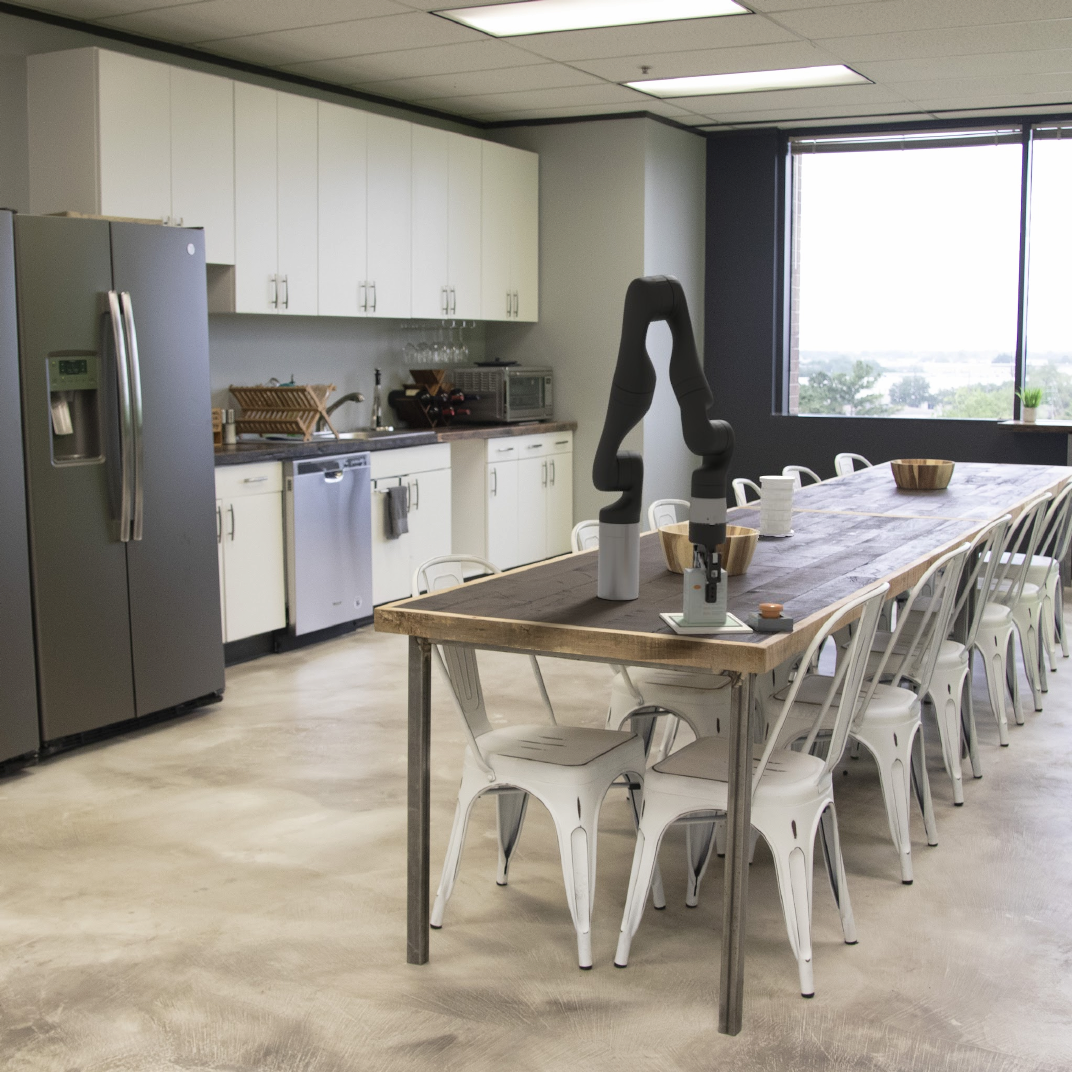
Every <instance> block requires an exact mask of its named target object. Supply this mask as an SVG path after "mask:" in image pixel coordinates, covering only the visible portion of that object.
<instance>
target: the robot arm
mask: <svg viewBox="0 0 1072 1072" xmlns="http://www.w3.org/2000/svg"><path fill="white" fill-rule="evenodd" d="M625 293H626V294H625V298H624V304H623V305H624V306H623V314H622V323H621V335H620V342H619V348H618V354H617V359H616V364H615V365H616V366H615V369H614V373H613V376H612V377H613V378H612V383H611V386H610V393H609V397H608V405H607V409H606V415H605V421H604V425H603V428H602V431H601V435H600V438H599V441H598V445H597V448H596V452H595V455H594V459H593V464H592V471H591V472H592V473H591V474H592V475H591V477H592V485H593V486H594V488H595V489H596V490H597V491H599V492H605V493H607V492H608V493H609V492H611V493H613V492H615V493H616V492H618V493H619V492H622V495H621V496H620V498H618V500H616V501H614V502H613V503H610V504H608V505H606V506H603V507H602V508H600V509H599V512H598V554H597V555H598V556H597V557H598V559H597V560H598V561H597V562H598V563H597V564H598V566H597V597H598V598H599V599H603V600H611V601H630V600H636V599H637V598H639V589H640V587H639V584H640V583H639V582H640V546H641V545H640V544H641V543H640V541H641V540H640V538H641V536H640V535H641V512H642V506H643V505H642V504H643V503H642V502H643V490H644V489H643V488H644V487H643V486H644V478H645V477H644V475H645V472H644V471H645V468H644V466H645V465H644V460H643V456H642V455H641V453H640V452H639V451H637V450H632V449H628V450H627V449H626V450H625V449H624V450H623V449H622V450H619V448H620V446H621V444H622V443H623V441H624V439H625V437H627V435H628V434H629V433H630V432H631V431H632V430H633V428H635V427H636V426H637V424H638V423H640V421H642V420H643V418H644V417H645V416H646V415H647V413H648V412H649V410H650V408H651V406H652V403H653V399H654V395H655V391H656V385H657V378H658V377H657V373H656V369H655V366H654V364H653V361H652V359H651V357H650V354H649V353H648V350H647V345H646V344H647V342H646V341H647V335H648V331H649V328H650V327H649V326H650V325H651V323H653V322H662V321H665V322H666V324H667V326H668V328H669V330H670V333H671V334H670V335H671V336H672V337H671V339H672V347H671V354H670V360H669V367H668V368H669V369H668V376H669V381H670V385H671V387H672V391H673V394H674V395H675V398H676V401H677V404H678V407H679V410H680V421H681V431H682V438H683V442H684V443H685V445H686V447H687V449H688V450H689V451H690V452H691V453H692V454H693V455H695V456H699V457H703V461H702V464H701V465H700V466H699V467H697V468H695V469H694V470H693V471H692V473H691V481H690V482H691V484H690V503H689V508H688V509H689V510H688V512H689V514H688V542H689V543H691V544H693V545H692V548H693V549H692V567H691V568H701V572H702V574H703V575H704V576H705V583H706V584H705V602H707V603H715V602H716V601H717V584H718V583H720V582H721V568H722V552H717V546H718V545H723V544H725V543H726V542H727V525H728V524H727V521H728V520H727V517H728V512H727V511H728V508H727V506H728V505H727V476H728V473H729V471H730V467H731V464H732V459H733V455H734V452H735V446H736V435H735V432H734V428H733V427H732V425H731V424H730V423H729V422H728V421H726V420H722V419H712V420H710V419H709V416H708V412H707V411H708V410H709V409H710V408H712V406H714V405H713V404H714V395H713V392H712V390H711V387H710V384H709V382H708V380H707V377H706V375H705V372H704V369H703V367H702V364H701V360H700V356H699V353H698V349H697V348H698V347H697V344H696V340H695V334H694V330H693V323H692V319H691V316H690V310H689V305H688V302H687V301H688V300H687V298H686V295H685V290H684V288H683V286H682V284H681V282H680V280H679V279H678V278H677V277H676V276H675V275H672V274H656V275H649V276H647V275H646V276H640V277H636V278H634V279H633V280H631V282H630V283H629V285H628V287H627V289H626V292H625ZM711 575H714V577H711Z"/></svg>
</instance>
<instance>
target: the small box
mask: <svg viewBox="0 0 1072 1072" xmlns="http://www.w3.org/2000/svg"><path fill="white" fill-rule="evenodd" d="M711 577H714V575H711ZM705 584H706V583H705V576H704V575H703V574H702V572H701V568H692V567H687V568H686V567H685V568H683V599H682V600H683V601H682V602H683V603H682V604H683V609H682V613H683V618H684V619H685V620H686V621H687V622H688V623H726V620H727V612H728V611H727V609H728V608H727V606H728V605H727V604H728V603H727V602H728V601H727V600H728V571H726V570H725V569H723V568H722V567H721V582H720V583H718V584H717V601H716V602H715V603H707V602H705Z"/></svg>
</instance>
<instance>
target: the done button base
mask: <svg viewBox="0 0 1072 1072" xmlns="http://www.w3.org/2000/svg"><path fill="white" fill-rule="evenodd" d="M747 618H748V620H747V624H748V625H747V626H749V627H750V628H751V629H752V628H753V629H754V630H755V631H756V632H794V618H793V617H791V615H789V614H787V613H786V612H783V611H780V618H763V617H762V611H749V612H748V617H747Z"/></svg>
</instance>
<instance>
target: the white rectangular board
mask: <svg viewBox="0 0 1072 1072" xmlns="http://www.w3.org/2000/svg"><path fill="white" fill-rule="evenodd" d="M659 617H660V618H661V619H662V620H663V621H664V622H665V623H666V624H667V625H668V626H670V628H671V629H672V630H673V631H675V632H676V634H678V635H697V634H698V635H703V634H704V635H706V634H710V635H713V634H717V635H718V634H719V635H720V634H754V630H753V629H752V627H751V626H749V625H747V624H746V623H744V622H743V621H742V620H741V619H739V618H737V616H735V615H734V614H732V613H731V612H728V611H727V620H726V623H688V622H687V621H686V620H685V619H684V618H683V612H669V613H668V612H664V613H663V612H662V613H661V612H659Z"/></svg>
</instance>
